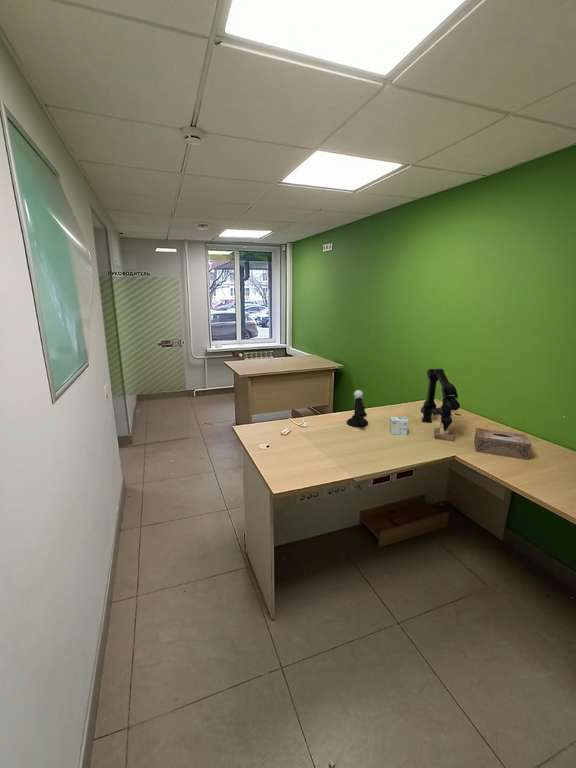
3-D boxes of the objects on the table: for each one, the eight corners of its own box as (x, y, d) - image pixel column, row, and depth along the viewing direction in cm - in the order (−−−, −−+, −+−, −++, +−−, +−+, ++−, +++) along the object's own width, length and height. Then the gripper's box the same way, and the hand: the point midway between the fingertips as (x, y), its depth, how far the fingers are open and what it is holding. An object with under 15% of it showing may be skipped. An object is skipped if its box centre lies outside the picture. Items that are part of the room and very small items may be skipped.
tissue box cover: (475, 452, 197) (478, 436, 194) (474, 442, 209) (476, 427, 207) (528, 460, 186) (531, 444, 184) (523, 449, 199) (526, 434, 196)
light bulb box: (404, 431, 227) (406, 416, 224) (407, 435, 220) (408, 420, 218) (388, 431, 228) (389, 416, 225) (390, 435, 222) (391, 419, 219)
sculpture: (365, 419, 249) (366, 387, 243) (373, 432, 226) (375, 397, 220) (344, 419, 249) (345, 387, 242) (351, 432, 226) (352, 397, 219)
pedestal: (434, 432, 225) (434, 428, 224) (452, 434, 221) (452, 430, 220) (434, 438, 215) (434, 434, 214) (453, 441, 211) (453, 437, 210)
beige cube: (439, 430, 220) (440, 421, 218) (447, 431, 218) (448, 422, 217) (439, 433, 216) (440, 424, 214) (448, 434, 214) (449, 425, 212)
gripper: (433, 399, 223) (430, 421, 227) (433, 408, 206) (431, 431, 211) (451, 401, 219) (448, 423, 223) (453, 410, 202) (450, 434, 207)
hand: (444, 428), depth 216 cm, fingers open, 9 cm apart
